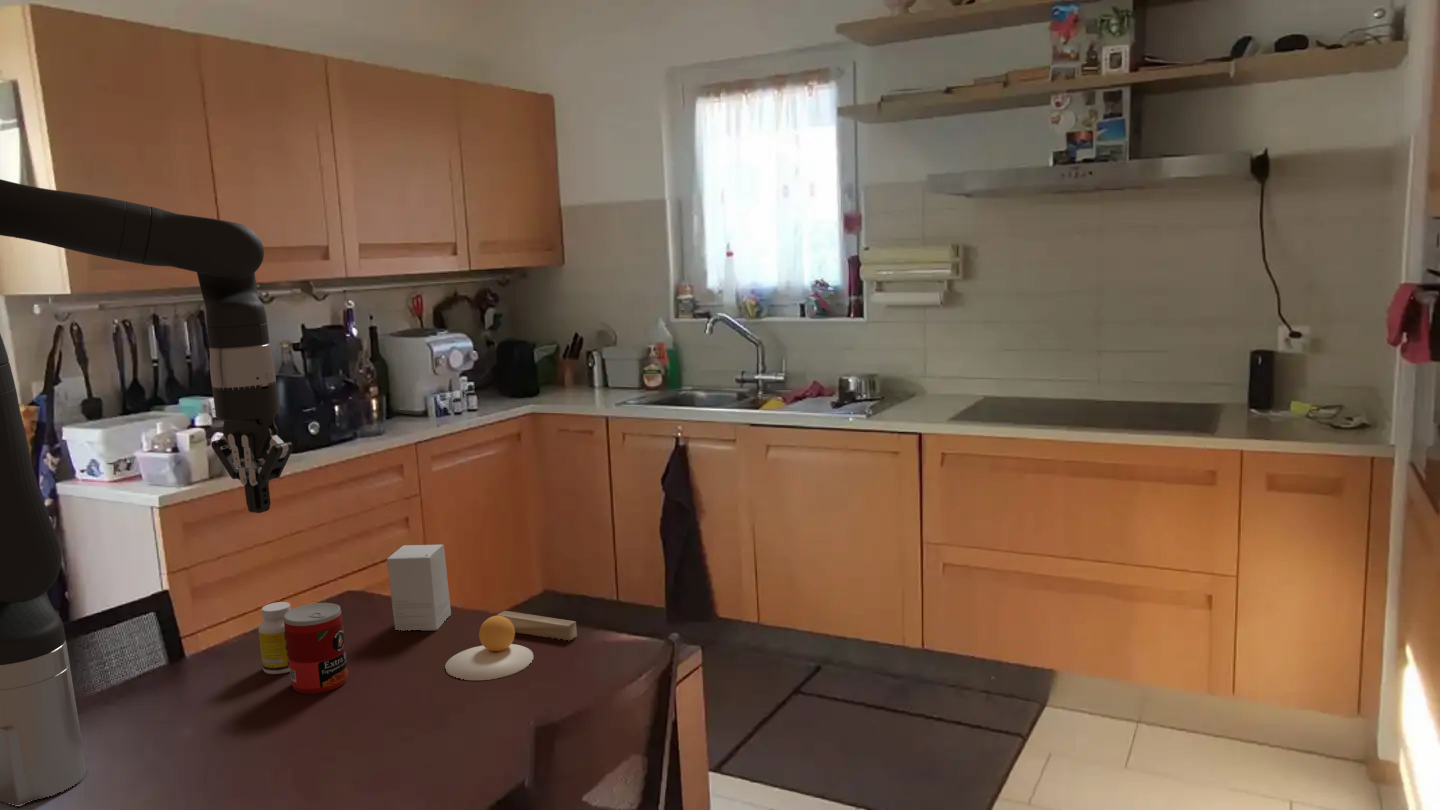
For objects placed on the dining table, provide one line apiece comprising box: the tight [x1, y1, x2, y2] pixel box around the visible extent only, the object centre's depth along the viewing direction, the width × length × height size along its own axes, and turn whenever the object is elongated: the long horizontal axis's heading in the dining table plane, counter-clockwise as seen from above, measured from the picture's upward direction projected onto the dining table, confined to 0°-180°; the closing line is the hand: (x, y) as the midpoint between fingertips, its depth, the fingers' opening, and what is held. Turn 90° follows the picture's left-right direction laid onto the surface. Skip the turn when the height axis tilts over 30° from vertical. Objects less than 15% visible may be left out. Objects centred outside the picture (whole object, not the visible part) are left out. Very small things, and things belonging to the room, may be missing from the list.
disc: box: [444, 643, 534, 681], centre depth 157 cm, size 13×13×1 cm
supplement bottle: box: [258, 601, 292, 675], centre depth 157 cm, size 5×5×10 cm
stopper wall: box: [496, 610, 578, 642], centre depth 167 cm, size 2×14×2 cm, turn 64°
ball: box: [478, 615, 516, 651], centre depth 161 cm, size 5×5×5 cm
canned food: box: [284, 602, 349, 695], centre depth 151 cm, size 8×8×11 cm
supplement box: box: [386, 543, 452, 632], centre depth 173 cm, size 7×7×13 cm
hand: (259, 511), depth 136 cm, fingers closed
